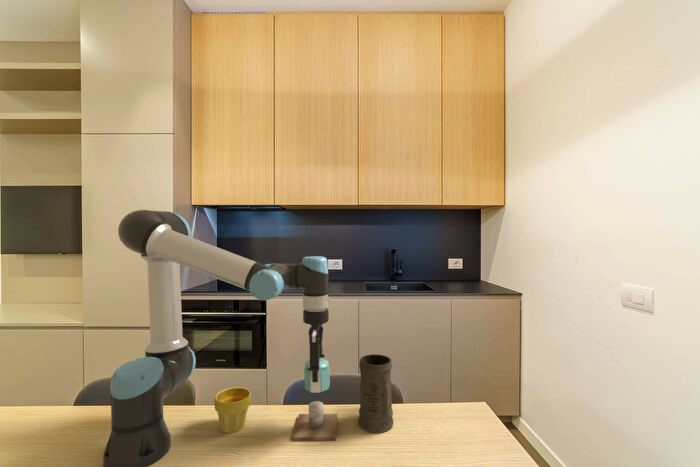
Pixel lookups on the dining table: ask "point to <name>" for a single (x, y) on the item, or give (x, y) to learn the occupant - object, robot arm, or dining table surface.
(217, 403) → the plant pot
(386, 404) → the beer stein
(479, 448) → the dining table surface
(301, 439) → the post block
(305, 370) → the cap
